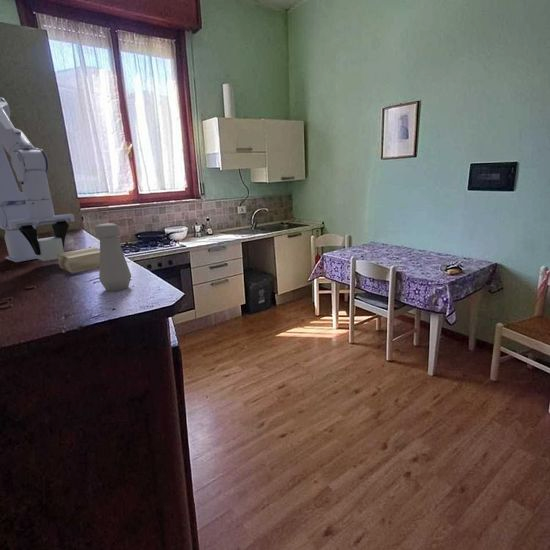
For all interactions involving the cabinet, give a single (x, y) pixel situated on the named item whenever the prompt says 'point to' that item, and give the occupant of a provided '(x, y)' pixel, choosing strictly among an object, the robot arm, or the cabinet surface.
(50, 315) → the cabinet surface
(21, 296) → the cabinet surface
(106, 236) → the salt shaker
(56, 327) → the cabinet surface
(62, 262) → the birch block
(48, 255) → the blue-grey cube
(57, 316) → the cabinet surface
